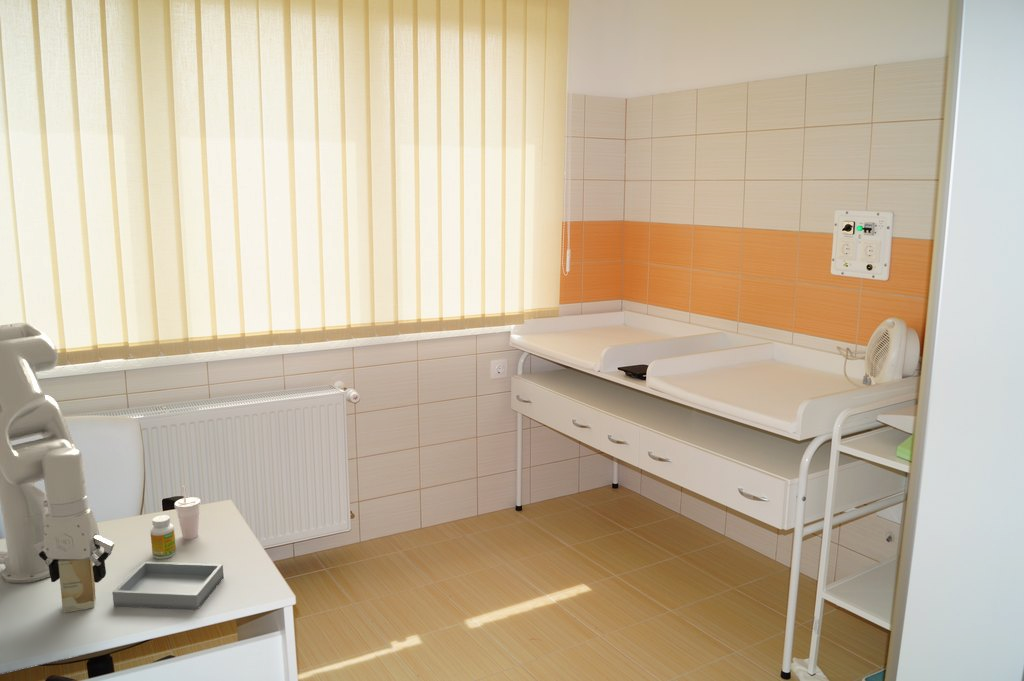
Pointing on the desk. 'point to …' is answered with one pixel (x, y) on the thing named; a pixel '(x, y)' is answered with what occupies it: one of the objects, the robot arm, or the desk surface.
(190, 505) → the smoothie
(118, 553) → the desk surface
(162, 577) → the tray
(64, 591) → the skincare box
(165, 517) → the supplement bottle
